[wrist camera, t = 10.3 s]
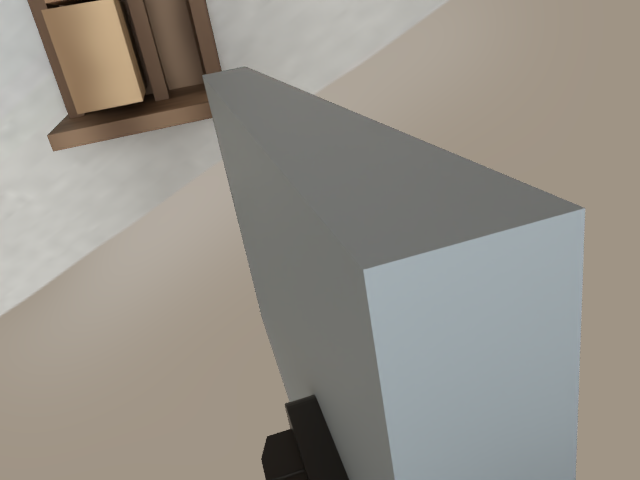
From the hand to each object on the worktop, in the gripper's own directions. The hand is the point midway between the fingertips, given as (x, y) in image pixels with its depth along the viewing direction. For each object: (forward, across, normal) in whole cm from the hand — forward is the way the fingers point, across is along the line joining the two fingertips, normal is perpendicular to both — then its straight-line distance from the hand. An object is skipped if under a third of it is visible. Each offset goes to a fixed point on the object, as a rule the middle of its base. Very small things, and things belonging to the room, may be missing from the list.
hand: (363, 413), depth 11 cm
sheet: (+17, 0, +1) cm, 17 cm away
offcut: (+37, +7, -7) cm, 39 cm away
